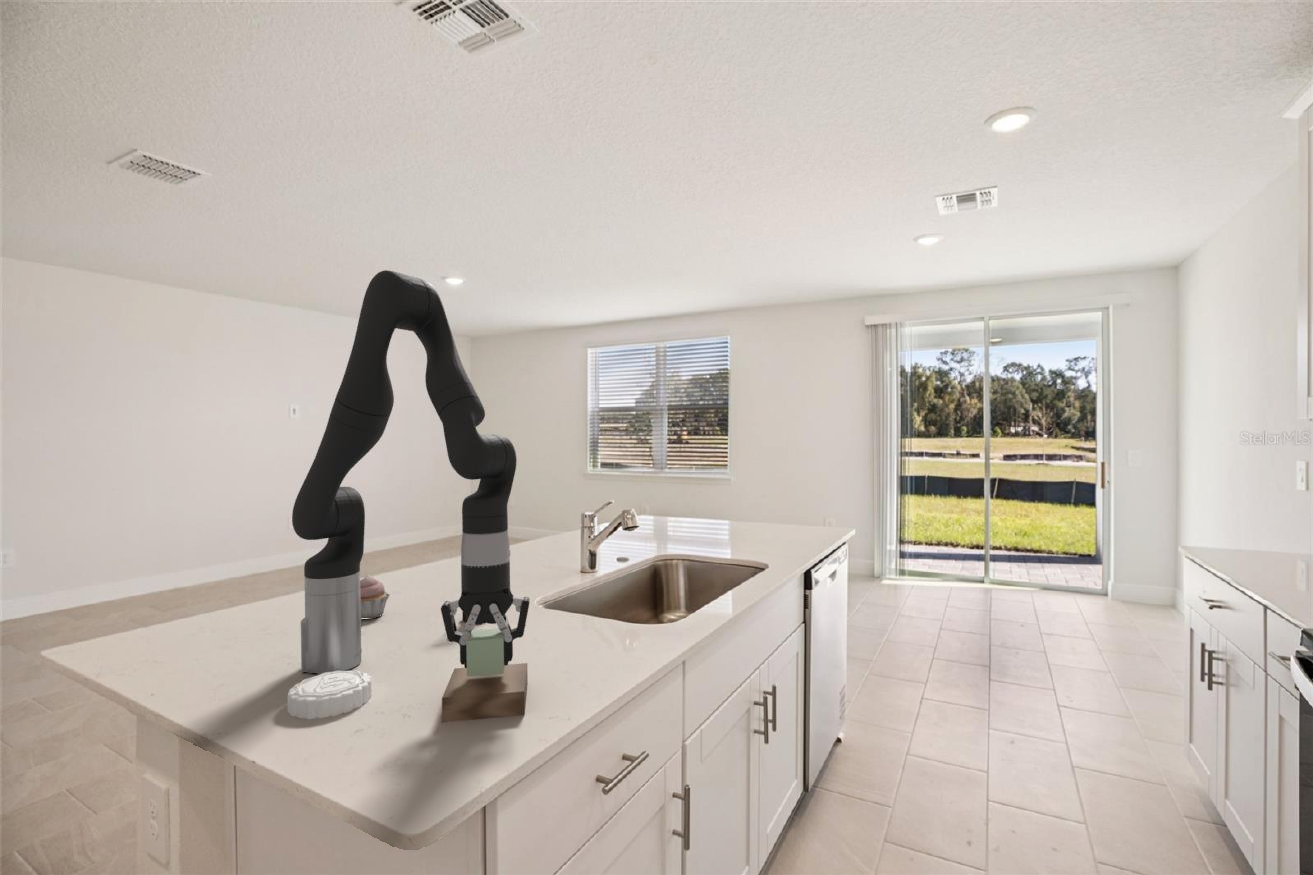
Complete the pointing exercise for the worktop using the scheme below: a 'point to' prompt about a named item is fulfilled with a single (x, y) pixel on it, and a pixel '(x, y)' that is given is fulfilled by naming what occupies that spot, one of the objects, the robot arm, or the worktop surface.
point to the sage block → (485, 652)
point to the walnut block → (485, 694)
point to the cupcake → (372, 597)
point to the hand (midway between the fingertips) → (487, 664)
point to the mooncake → (329, 694)
